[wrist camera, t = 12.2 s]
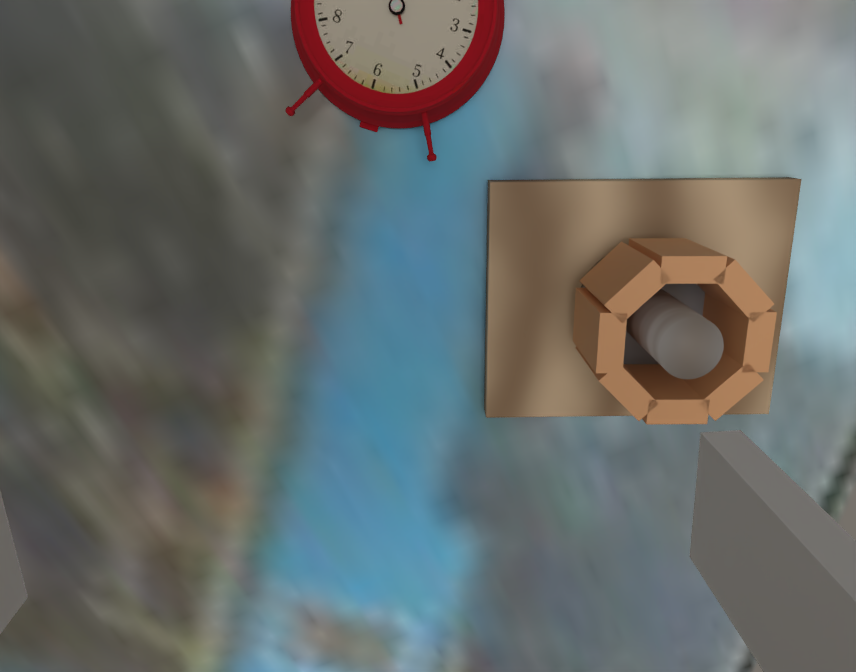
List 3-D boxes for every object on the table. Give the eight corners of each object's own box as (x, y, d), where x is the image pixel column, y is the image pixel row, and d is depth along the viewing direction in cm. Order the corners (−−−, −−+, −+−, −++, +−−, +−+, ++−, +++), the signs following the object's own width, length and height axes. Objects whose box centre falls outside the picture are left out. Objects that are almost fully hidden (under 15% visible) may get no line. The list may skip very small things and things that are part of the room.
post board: (484, 409, 41) (502, 486, 32) (487, 180, 38) (509, 197, 29) (758, 405, 41) (851, 482, 33) (789, 177, 38) (902, 193, 29)
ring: (570, 386, 37) (592, 424, 33) (578, 238, 35) (604, 256, 30) (717, 385, 38) (761, 423, 33) (735, 237, 35) (785, 255, 31)
